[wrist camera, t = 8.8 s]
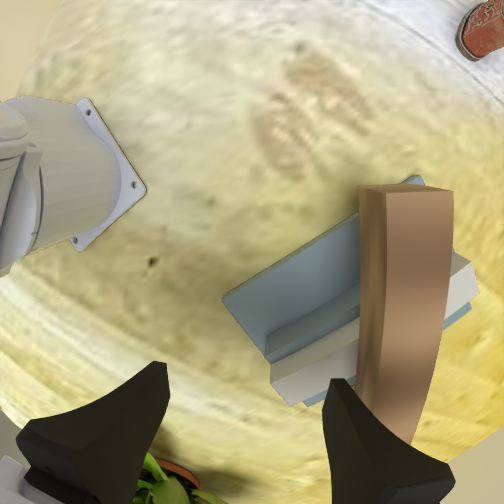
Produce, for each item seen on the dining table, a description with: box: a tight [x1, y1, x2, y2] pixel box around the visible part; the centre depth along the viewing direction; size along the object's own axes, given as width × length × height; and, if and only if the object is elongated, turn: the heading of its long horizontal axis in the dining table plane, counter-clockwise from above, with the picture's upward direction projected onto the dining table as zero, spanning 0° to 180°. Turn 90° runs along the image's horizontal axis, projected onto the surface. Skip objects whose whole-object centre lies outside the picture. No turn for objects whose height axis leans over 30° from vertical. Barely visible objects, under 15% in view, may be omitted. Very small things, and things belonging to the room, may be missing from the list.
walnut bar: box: [354, 184, 454, 445], centre depth 14 cm, size 18×3×4 cm, turn 7°
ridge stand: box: [222, 175, 480, 407], centre depth 19 cm, size 16×12×6 cm
